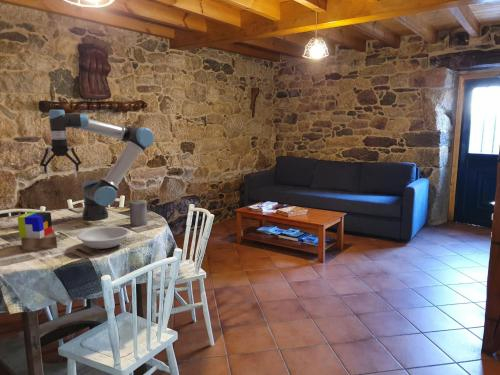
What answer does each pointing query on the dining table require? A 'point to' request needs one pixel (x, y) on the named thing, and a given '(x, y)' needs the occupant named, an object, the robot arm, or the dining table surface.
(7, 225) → the dining table surface
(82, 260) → the dining table surface
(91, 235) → the soup bowl
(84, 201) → the robot arm
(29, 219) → the puzzle toy
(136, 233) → the dining table surface
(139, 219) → the pillar candle
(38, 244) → the walnut base block
